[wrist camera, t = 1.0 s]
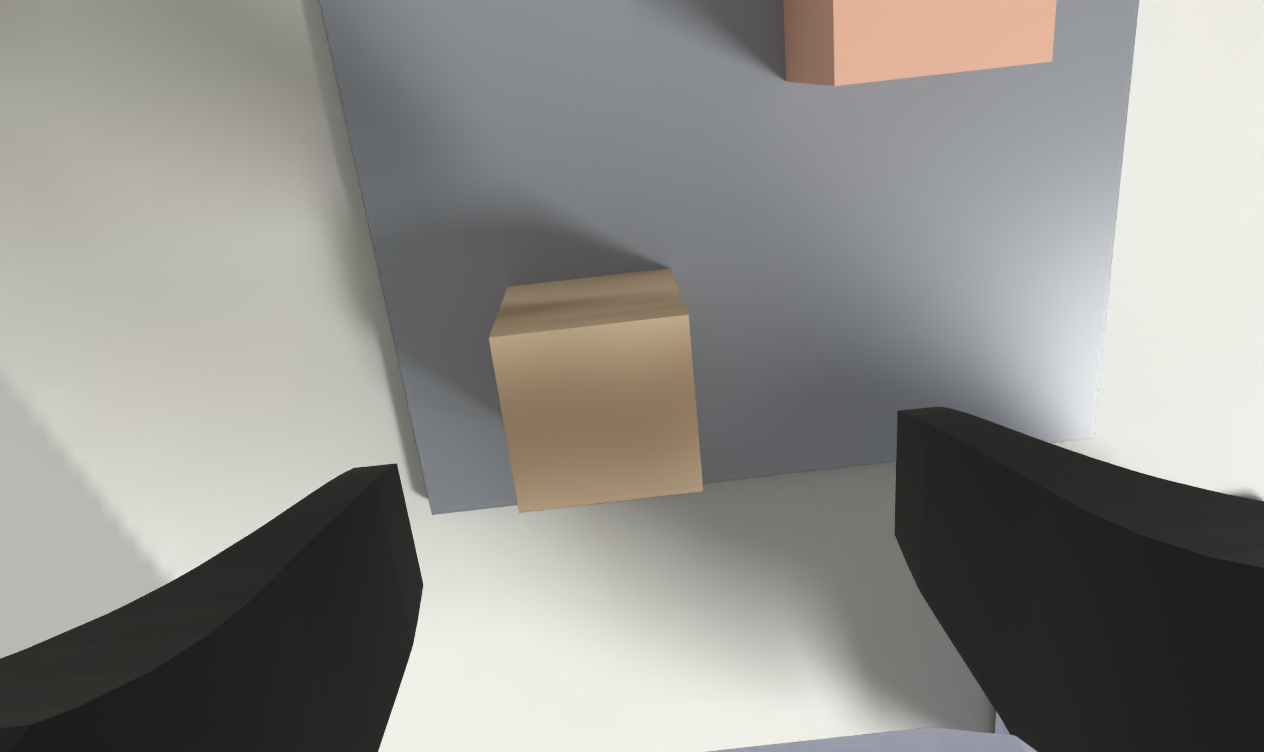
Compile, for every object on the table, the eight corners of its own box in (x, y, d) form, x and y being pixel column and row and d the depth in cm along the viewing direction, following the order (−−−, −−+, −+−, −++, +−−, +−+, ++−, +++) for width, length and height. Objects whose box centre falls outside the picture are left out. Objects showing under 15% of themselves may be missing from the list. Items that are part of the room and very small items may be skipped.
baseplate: (1081, 429, 23) (1093, 438, 22) (436, 503, 23) (432, 515, 22) (1149, -266, 17) (1168, -277, 17) (290, -171, 17) (280, -179, 17)
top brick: (683, 417, 22) (703, 491, 18) (531, 434, 22) (519, 513, 18) (670, 268, 20) (688, 314, 16) (507, 287, 20) (488, 337, 16)
